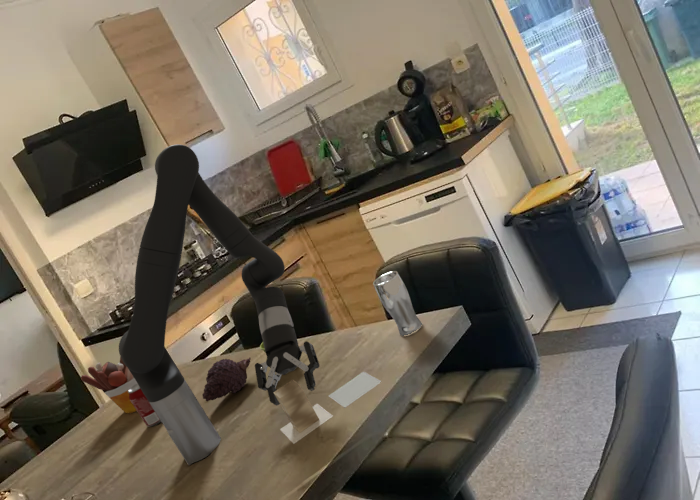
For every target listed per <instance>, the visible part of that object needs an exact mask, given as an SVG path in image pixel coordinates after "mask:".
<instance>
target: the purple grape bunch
mask: <svg viewBox="0 0 700 500" xmlns="http://www.w3.org/2000/svg"><path fill="white" fill-rule="evenodd" d="M250 363H251V357H249V358H246V359H243V360H239V361H237V362H236V361H234V360H233V359H230V358H229V359H228V358H225V359H224V358H223V359H219V361H215V362H214V363H213V364H212V366H211V367H210V368H209V369H208V370H207V375H206V377H205V381H206V383H205V384H204V388H203V393H202V399H203V400H205V401H206V402H207V403H208V402H209V401H214V400H216V399H220V398H223V397H226V396H227V395H228V394H230V393H232V394H236V393H237V392H239V391H240V390H242V388H244V387H245V385H246V384H247V379H248V374H247V368H249V366H250Z"/></svg>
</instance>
